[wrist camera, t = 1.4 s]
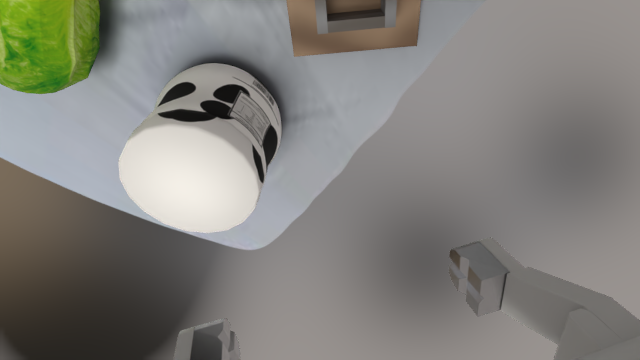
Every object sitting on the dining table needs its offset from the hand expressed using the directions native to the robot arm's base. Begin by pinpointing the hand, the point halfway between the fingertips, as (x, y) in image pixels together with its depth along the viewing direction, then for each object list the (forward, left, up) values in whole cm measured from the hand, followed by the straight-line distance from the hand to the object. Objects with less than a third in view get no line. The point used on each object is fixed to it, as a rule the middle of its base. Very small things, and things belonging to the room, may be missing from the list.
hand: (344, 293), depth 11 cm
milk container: (+11, -17, -39) cm, 44 cm away
